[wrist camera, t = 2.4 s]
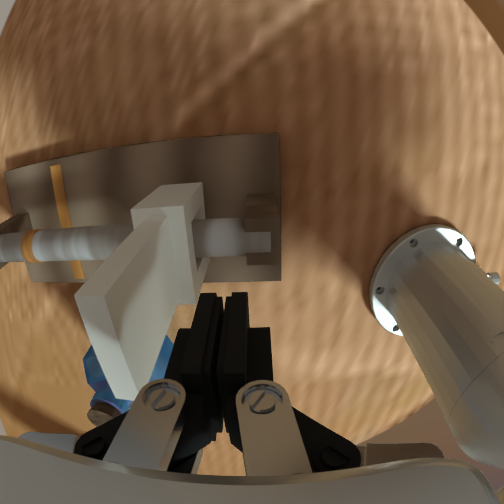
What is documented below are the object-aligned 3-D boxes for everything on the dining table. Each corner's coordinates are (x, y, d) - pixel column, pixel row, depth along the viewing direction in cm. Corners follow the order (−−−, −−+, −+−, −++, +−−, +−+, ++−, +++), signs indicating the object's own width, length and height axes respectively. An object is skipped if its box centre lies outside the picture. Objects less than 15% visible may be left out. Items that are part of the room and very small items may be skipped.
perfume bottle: (147, 307, 31) (105, 394, 20) (178, 350, 33) (152, 439, 22) (105, 322, 32) (58, 401, 21) (135, 362, 34) (103, 442, 23)
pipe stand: (277, 133, 24) (287, 140, 16) (279, 269, 29) (286, 325, 21) (16, 167, 25) (-39, 189, 17) (41, 273, 30) (-1, 313, 22)
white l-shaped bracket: (202, 182, 22) (126, 282, 9) (209, 260, 24) (165, 411, 11) (161, 185, 22) (49, 281, 9) (171, 261, 24) (101, 403, 11)
